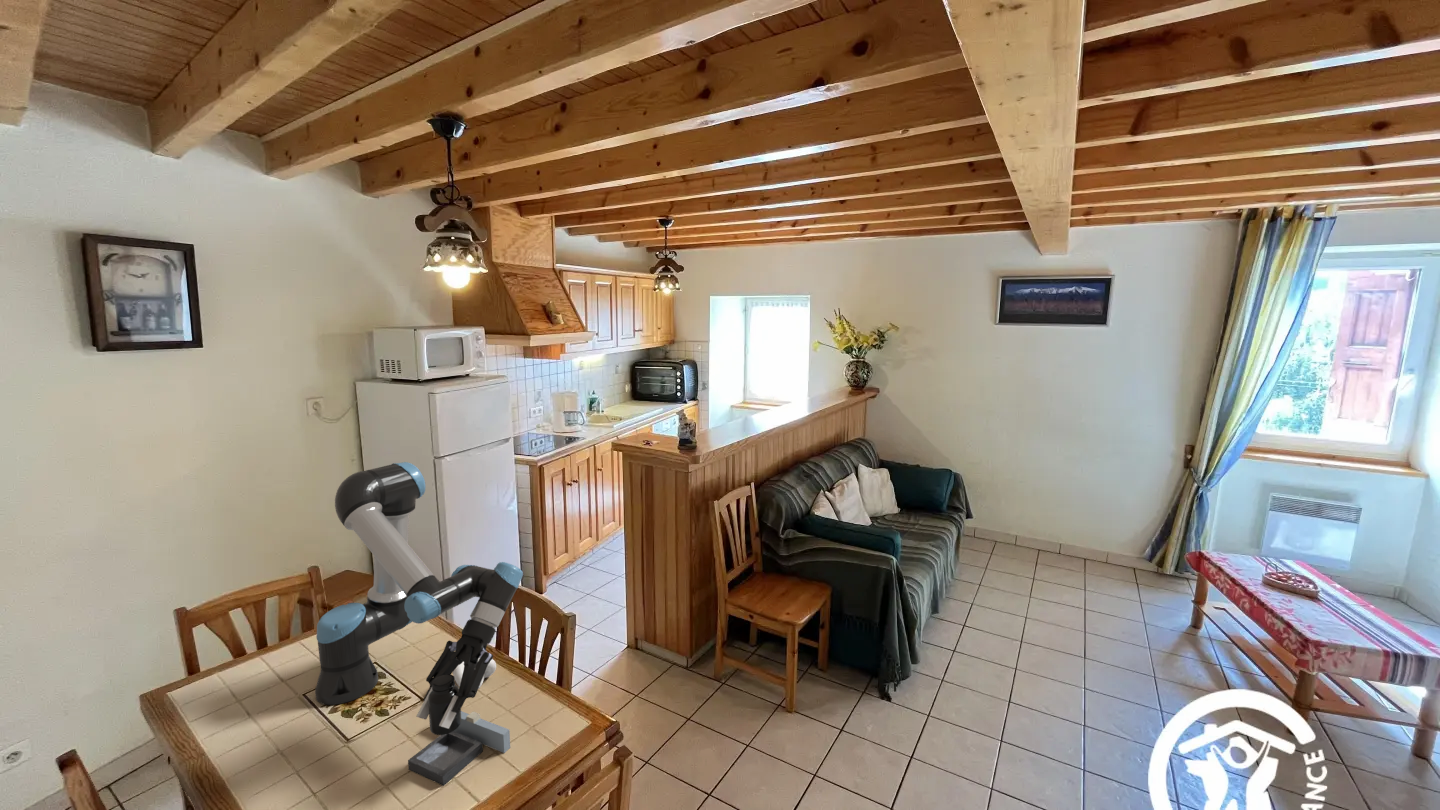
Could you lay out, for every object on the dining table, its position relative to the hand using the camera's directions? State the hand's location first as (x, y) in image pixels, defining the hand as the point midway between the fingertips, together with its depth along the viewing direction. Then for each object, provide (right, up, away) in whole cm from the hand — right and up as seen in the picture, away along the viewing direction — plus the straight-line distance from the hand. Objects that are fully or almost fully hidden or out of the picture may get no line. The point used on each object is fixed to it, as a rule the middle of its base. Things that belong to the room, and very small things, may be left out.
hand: (432, 722), depth 131 cm
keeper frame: (+1, -12, +5) cm, 13 cm away
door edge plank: (+4, -11, +13) cm, 18 cm away
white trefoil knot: (-5, -8, +35) cm, 36 cm away
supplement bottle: (+1, -3, +4) cm, 5 cm away
